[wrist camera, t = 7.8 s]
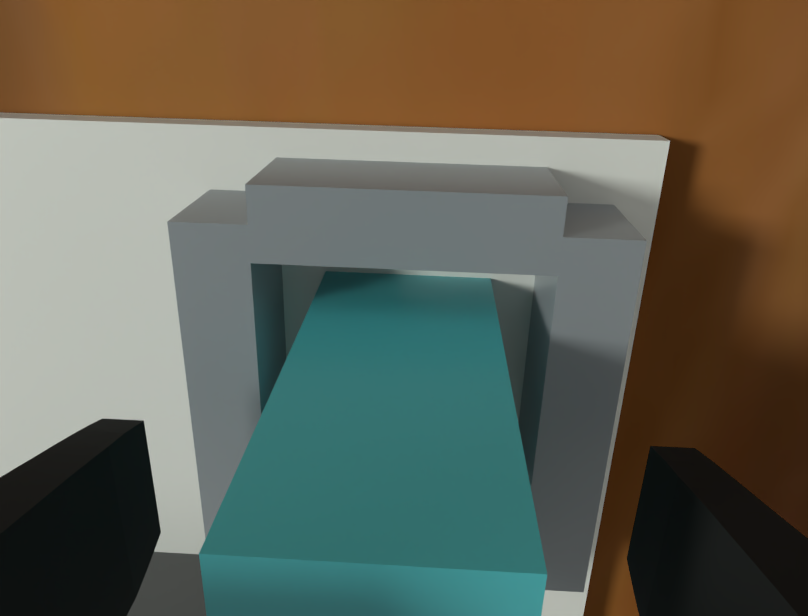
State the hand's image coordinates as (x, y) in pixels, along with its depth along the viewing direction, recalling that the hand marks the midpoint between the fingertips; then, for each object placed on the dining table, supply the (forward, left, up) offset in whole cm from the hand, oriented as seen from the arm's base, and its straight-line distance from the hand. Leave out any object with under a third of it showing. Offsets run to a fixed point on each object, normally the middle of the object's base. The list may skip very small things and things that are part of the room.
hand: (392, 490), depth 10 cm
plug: (0, 0, -4) cm, 4 cm away
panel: (-4, +3, -4) cm, 7 cm away
